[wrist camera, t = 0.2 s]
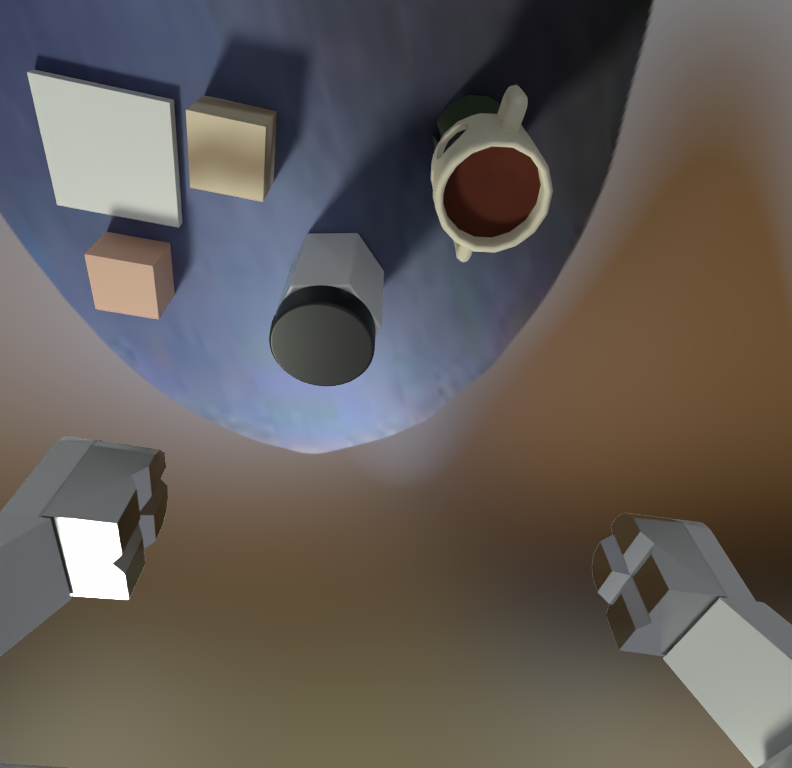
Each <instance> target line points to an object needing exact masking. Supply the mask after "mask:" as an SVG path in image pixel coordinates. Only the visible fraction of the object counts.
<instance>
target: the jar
mask: <svg viewBox="0 0 792 768" xmlns="http://www.w3.org/2000/svg"><path fill="white" fill-rule="evenodd" d="M383 286H384V270H383V269H382V268H381V266H380V265H379V263H378V262H377V260H376V259H375V257H374V256H373V254H372V253H371V251H370V250H369V248H368V247H367V246H366V244H365V243H364V241H363V240H362V238H361V237H360V235H359V234H358V233H309V234H307V235H306V237H305V240H304V242H303V244H302V246H301V248H300V250H299V252H298V254H297V257H296V259H295V261H294V263H293V265H292V267H291V269H290V271H289V274H288V277H287V280H286V283H285V286H284V289H283V292H282V295H281V298H280V301H279V304H278V307H277V310H276V313H275V316H274V318H273V321H272V324H271V329H270V336H269V342H270V348H271V352H272V354H273V356H274V358H275V360H276V361H277V363H278V364H279V365H280V366H281V367H282V368H283V369H284V370H285V371H286V372H287V373H288V374H290V375H291V376H293V377H294V378H296V379H298V380H300V381H303V382H305V383H309V384H313V385H318V386H335V385H341V384H344V383H347V382H350V381H352V380H354V379H356V378H357V377H359V376H360V375H361V374H363V373H364V372H365V370H366V369H367V368H368V367H369V365H370V363H371V361H372V359H373V355H374V349H375V336H376V335H377V333H378V332H379V330H380V329H381V322H382V304H383Z"/></svg>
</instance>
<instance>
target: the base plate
mask: <svg viewBox="0 0 792 768" xmlns="http://www.w3.org/2000/svg"><path fill="white" fill-rule="evenodd" d="M27 74H28V79H29V83H30V88H31V92H32V96H33V101H34V105H35V109H36V114H37V118H38V123H39V127H40V131H41V136H42V140H43V145H44V149H45V153H46V158H47V162H48V167H49V171H50V175H51V180H52V184H53V188H54V193H55V197H56V202H57V205H60V206H66V207H71V208H76V209H82V210H87V211H92V212H98V213H103V214H108V215H114V216H119V217H125V218H130V219H135V220H141V221H146V222H151V223H157V224H162V225H167V226H173V227H178V228H179V227H180V225H181V224H182V208H181V194H180V179H179V165H178V150H177V136H176V121H175V107H174V100H173V99H169V98H164V97H159V96H155V95H150V94H146V93H141V92H136V91H132V90H127V89H122V88H118V87H113V86H108V85H104V84H99V83H95V82H90V81H85V80H81V79H76V78H71V77H67V76H62V75H57V74H53V73H48V72H44V71H39V70H32V71H29V72H27Z"/></svg>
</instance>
